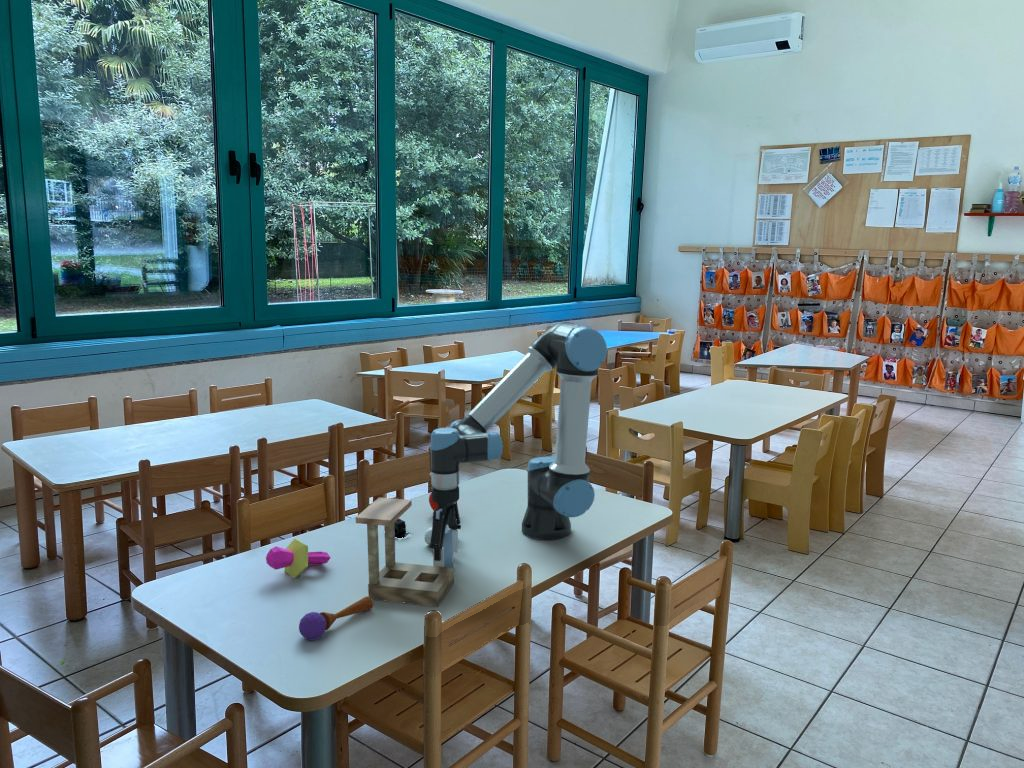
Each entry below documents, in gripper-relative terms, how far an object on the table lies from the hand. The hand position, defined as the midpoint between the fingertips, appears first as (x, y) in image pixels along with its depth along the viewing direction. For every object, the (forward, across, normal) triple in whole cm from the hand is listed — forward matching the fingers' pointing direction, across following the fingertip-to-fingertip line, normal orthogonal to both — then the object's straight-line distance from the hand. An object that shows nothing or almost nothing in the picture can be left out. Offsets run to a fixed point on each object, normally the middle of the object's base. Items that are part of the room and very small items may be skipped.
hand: (446, 561), depth 215 cm
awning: (-2, +16, -11) cm, 20 cm away
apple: (+2, -38, -13) cm, 40 cm away
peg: (+2, 0, 0) cm, 2 cm away
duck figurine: (+2, -16, -6) cm, 17 cm away
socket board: (+2, +16, -4) cm, 17 cm away
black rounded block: (+2, -20, -21) cm, 29 cm away
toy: (+2, +13, -37) cm, 40 cm away
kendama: (+2, +37, -15) cm, 40 cm away
